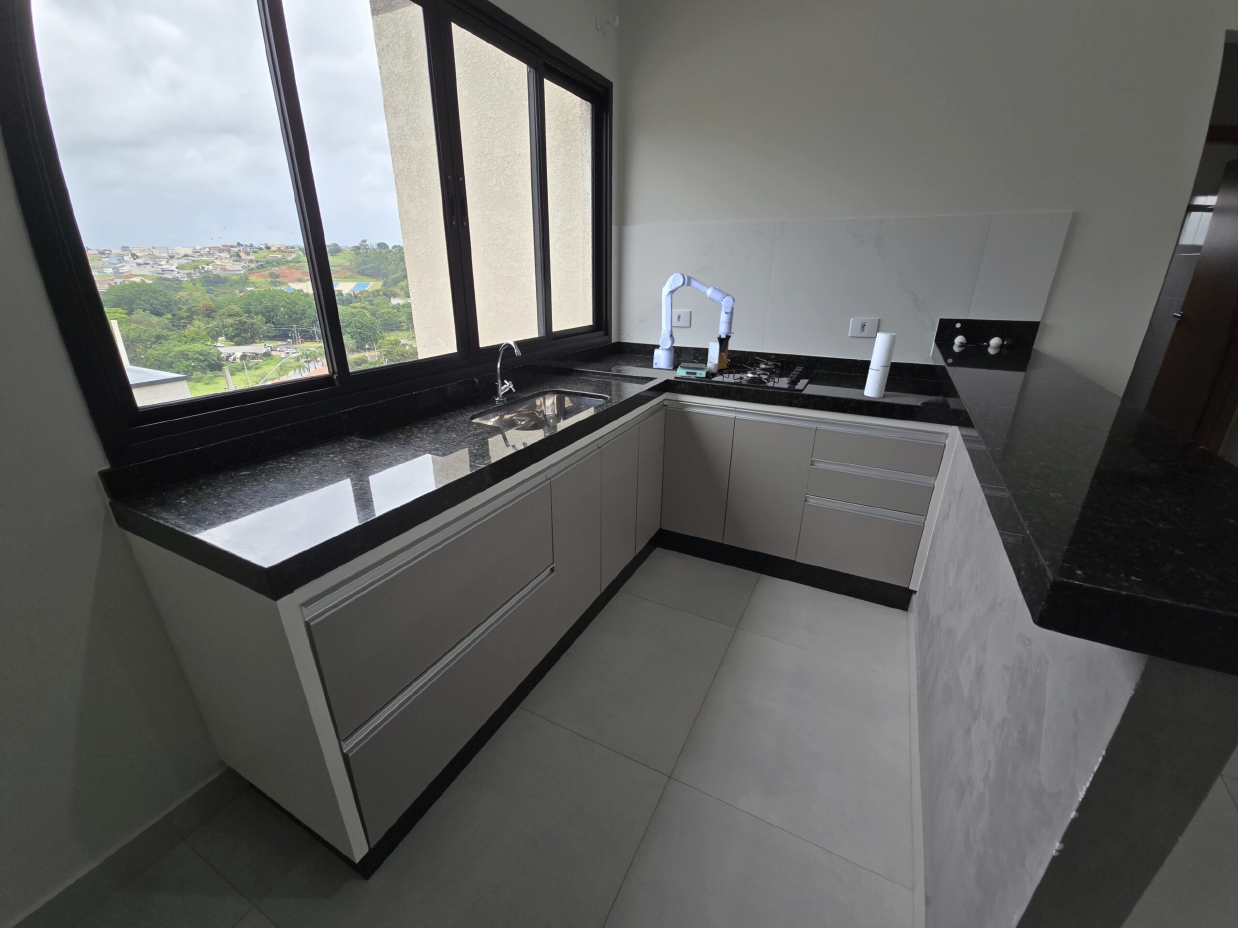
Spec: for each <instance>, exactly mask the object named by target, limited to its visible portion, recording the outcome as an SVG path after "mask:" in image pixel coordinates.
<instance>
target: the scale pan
mask: <svg viewBox="0 0 1238 928" xmlns="http://www.w3.org/2000/svg"><path fill="white" fill-rule="evenodd" d="M679 366H680V368H692V369H704V367H706V364H704V363H691V362H681V363H680V365H679Z"/></svg>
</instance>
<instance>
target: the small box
mask: <svg viewBox="0 0 1238 928" xmlns="http://www.w3.org/2000/svg"><path fill="white" fill-rule="evenodd" d="M708 342H709V343H708V353H707V362H718V370H723V369H727V365H728V356H729V355H728V354H729V347H730V346H729V345H730V341H729V342H728V345H727V348H726V351H725V352H724V353H720V350H719V342H718V340H714V341H708Z"/></svg>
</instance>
